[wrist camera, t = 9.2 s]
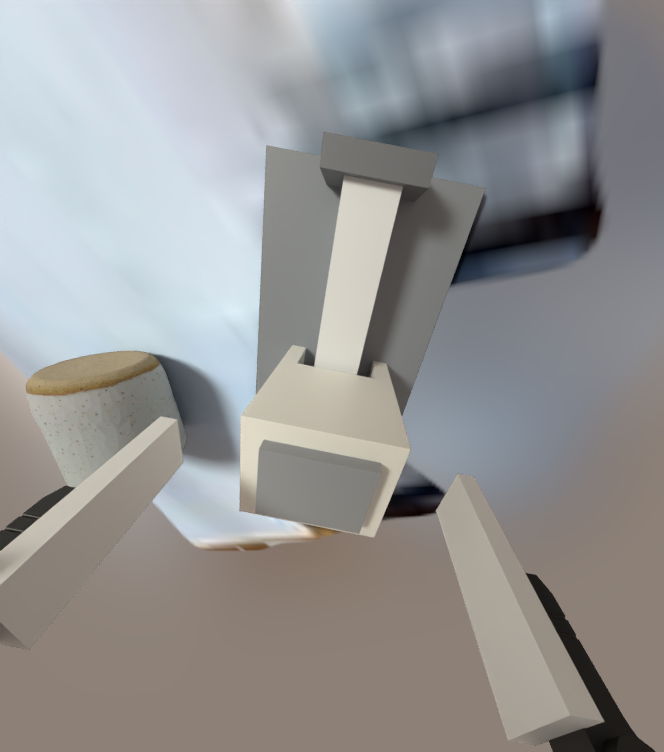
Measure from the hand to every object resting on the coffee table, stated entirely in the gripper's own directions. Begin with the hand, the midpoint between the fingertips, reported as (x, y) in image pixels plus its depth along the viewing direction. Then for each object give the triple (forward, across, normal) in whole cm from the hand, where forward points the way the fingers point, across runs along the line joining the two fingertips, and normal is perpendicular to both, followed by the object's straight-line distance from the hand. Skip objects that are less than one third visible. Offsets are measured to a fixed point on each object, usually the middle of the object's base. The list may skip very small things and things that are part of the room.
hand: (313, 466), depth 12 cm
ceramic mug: (+9, -16, -5) cm, 19 cm away
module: (+8, 0, 0) cm, 8 cm away
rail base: (+9, 0, +2) cm, 9 cm away
